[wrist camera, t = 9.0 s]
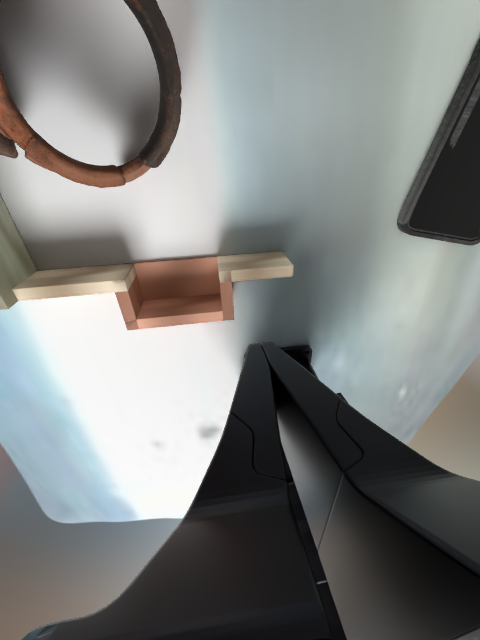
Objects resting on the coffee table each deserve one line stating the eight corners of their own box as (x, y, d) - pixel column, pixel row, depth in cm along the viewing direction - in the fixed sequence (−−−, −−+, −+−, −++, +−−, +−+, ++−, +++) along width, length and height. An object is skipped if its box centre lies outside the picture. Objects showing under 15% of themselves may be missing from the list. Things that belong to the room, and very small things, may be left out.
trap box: (304, -229, 10) (356, -421, 7) (279, 295, 22) (293, 320, 19) (-253, -270, 8) (-548, -544, 5) (48, 317, 21) (19, 349, 17)
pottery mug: (41, -157, 10) (90, -268, 6) (169, 108, 18) (230, 143, 14) (-210, 22, 10) (-351, 43, 6) (31, 213, 18) (50, 282, 14)
